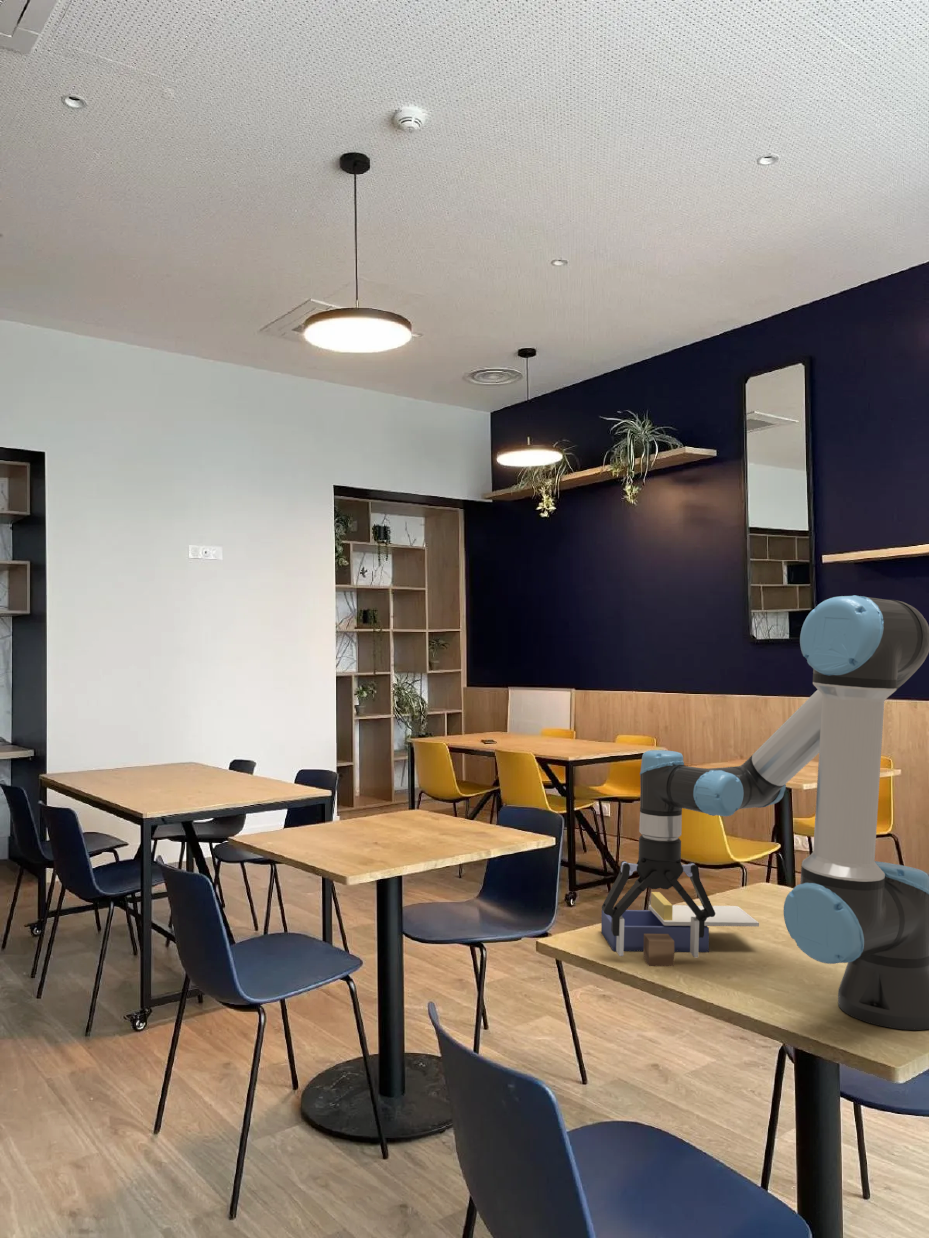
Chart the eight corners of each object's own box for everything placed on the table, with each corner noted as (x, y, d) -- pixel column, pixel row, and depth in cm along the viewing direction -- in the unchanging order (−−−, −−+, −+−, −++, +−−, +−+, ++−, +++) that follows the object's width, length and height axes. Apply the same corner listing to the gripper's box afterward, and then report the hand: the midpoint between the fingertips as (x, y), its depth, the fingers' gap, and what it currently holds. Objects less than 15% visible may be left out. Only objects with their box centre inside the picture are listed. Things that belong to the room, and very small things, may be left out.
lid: (758, 926, 176) (759, 907, 176) (664, 925, 175) (664, 906, 176) (737, 909, 188) (737, 891, 188) (648, 908, 187) (649, 890, 188)
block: (674, 966, 167) (674, 941, 167) (648, 966, 167) (649, 940, 167) (667, 958, 171) (668, 933, 172) (643, 958, 171) (643, 933, 172)
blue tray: (708, 952, 176) (708, 927, 176) (613, 951, 175) (613, 926, 175) (690, 933, 188) (690, 910, 188) (601, 932, 187) (601, 909, 187)
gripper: (721, 833, 174) (718, 948, 174) (588, 830, 173) (585, 946, 173) (734, 842, 167) (731, 962, 166) (595, 838, 166) (592, 959, 165)
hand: (657, 954), depth 169 cm, fingers open, 13 cm apart
